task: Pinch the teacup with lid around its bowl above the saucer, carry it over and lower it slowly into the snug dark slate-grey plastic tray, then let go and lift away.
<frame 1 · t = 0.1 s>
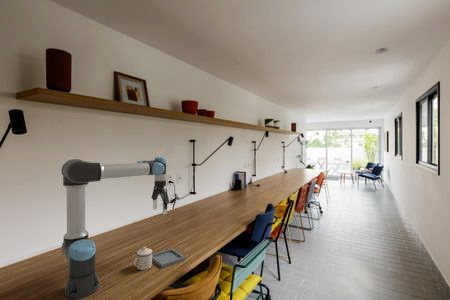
hand: (159, 211, 167), 28 cm above the counter, fingers open, 13 cm apart
cup tray: (167, 259, 159), on the counter
teacup with lid: (142, 267, 148), on the counter
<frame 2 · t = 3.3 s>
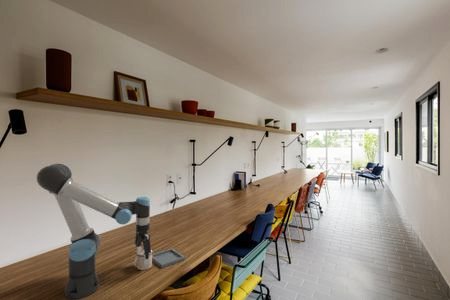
hand: (142, 260, 147), 4 cm above the counter, fingers open, 10 cm apart
teacup with lid: (142, 267, 147), on the counter, touching gripper
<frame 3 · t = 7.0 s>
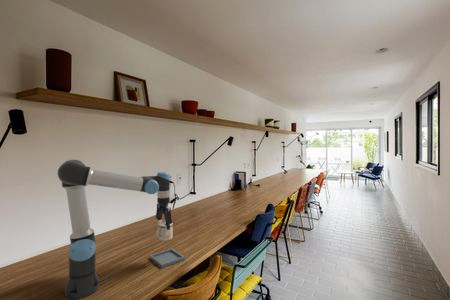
hand: (163, 232, 156), 18 cm above the counter, fingers closed on teacup with lid, 9 cm apart
teacup with lid: (163, 239, 156), point 14 cm above the counter, touching gripper
when the fingers open (6 cm above the counter, at t = 10.4 s): teacup with lid drops 1 cm, resting on cup tray.
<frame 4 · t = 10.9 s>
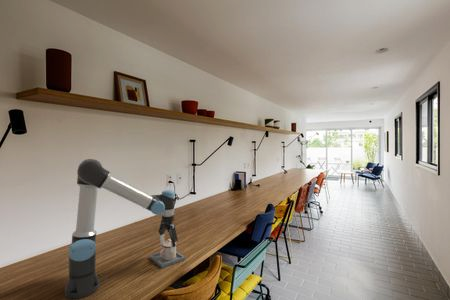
hand: (167, 248, 158), 7 cm above the counter, fingers open, 13 cm apart
teacup with lid: (167, 258, 158), resting on cup tray
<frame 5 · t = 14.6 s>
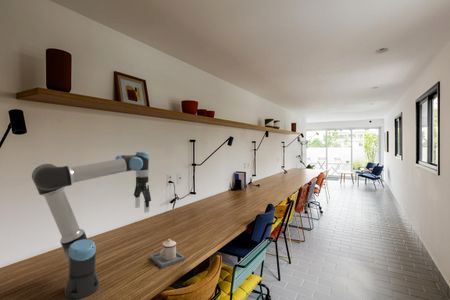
hand: (141, 209, 157), 32 cm above the counter, fingers open, 13 cm apart
nothing on the counter moved.
at the end: teacup with lid 0.2 cm off-centre on the cup tray, point 0.4 cm above the cup tray's base; teacup with lid tilted 0°; the gripper is holding nothing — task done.
